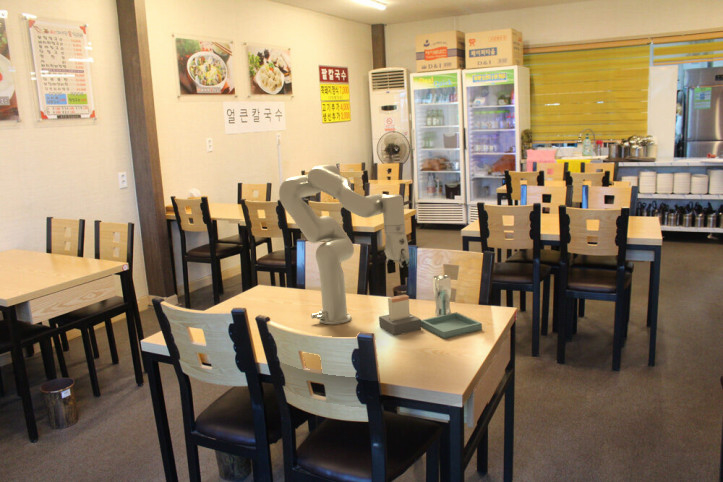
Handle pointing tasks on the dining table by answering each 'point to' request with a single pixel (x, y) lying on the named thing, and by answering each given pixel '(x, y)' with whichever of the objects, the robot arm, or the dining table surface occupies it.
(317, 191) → the robot arm
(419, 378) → the dining table surface
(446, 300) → the beer glass
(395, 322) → the block
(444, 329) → the tray
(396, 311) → the cream rectangular block
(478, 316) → the dining table surface
